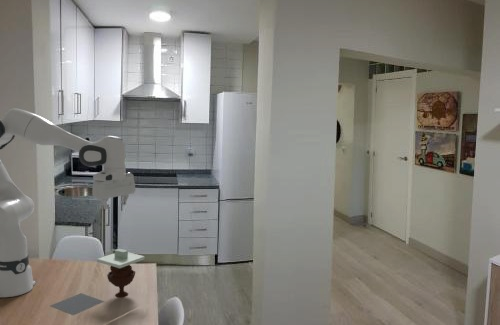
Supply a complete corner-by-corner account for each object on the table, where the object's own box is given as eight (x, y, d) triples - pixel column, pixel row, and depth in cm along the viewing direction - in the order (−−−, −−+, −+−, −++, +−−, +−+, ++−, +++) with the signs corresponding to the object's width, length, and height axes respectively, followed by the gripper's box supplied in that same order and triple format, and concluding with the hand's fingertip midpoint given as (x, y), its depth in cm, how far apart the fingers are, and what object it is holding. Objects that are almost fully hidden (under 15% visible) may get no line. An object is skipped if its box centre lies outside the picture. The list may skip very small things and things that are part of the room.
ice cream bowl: (127, 302, 165) (127, 266, 163) (102, 299, 167) (101, 263, 165) (140, 292, 175) (140, 257, 173) (115, 289, 177) (115, 255, 176)
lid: (97, 261, 167) (97, 251, 167) (122, 253, 178) (122, 243, 178) (119, 268, 160) (119, 257, 160) (144, 259, 171) (144, 249, 171)
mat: (49, 306, 160) (49, 305, 160) (81, 294, 172) (81, 293, 172) (73, 316, 153) (73, 315, 152) (104, 302, 165) (104, 301, 164)
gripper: (128, 171, 185) (128, 202, 187) (89, 176, 168) (90, 210, 169) (138, 172, 182) (138, 203, 183) (100, 177, 164) (100, 212, 166)
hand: (115, 206), depth 176 cm, fingers open, 8 cm apart
